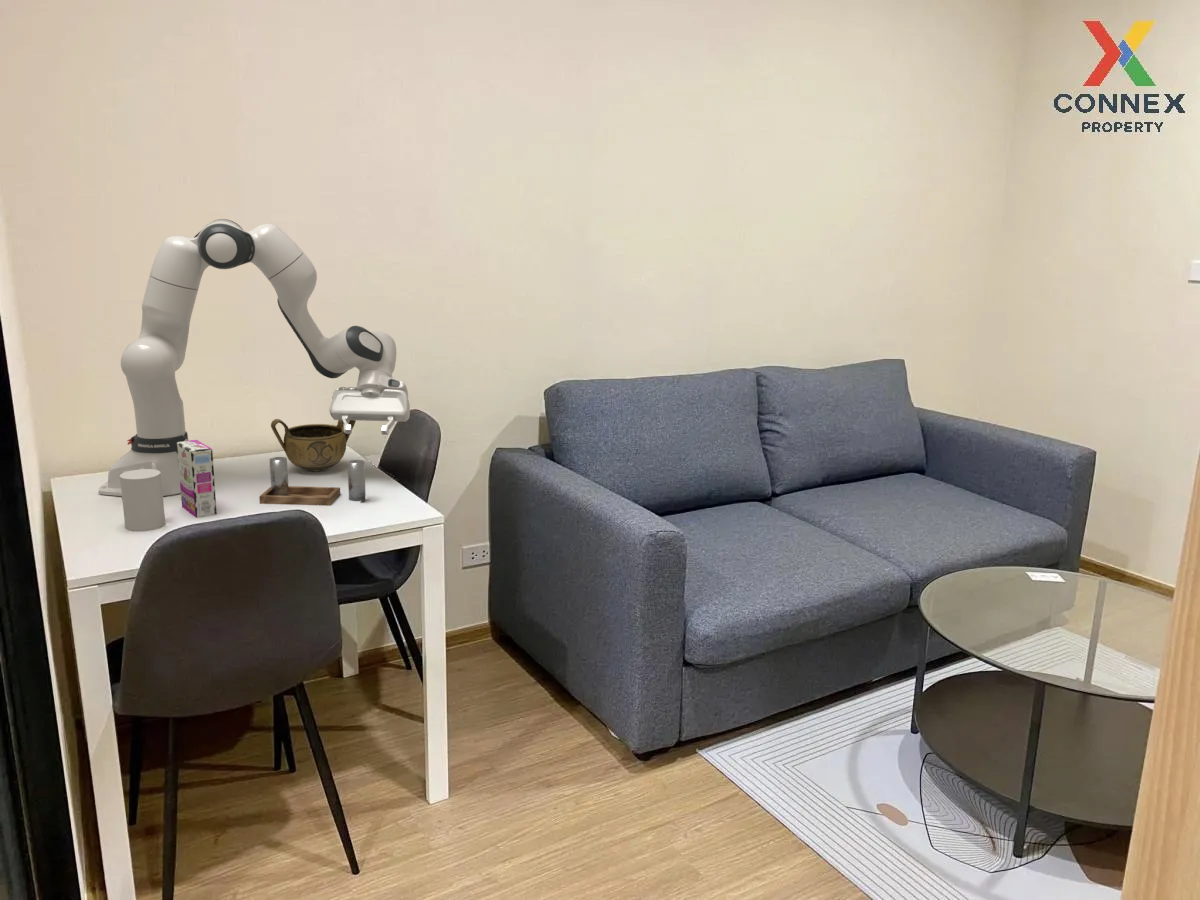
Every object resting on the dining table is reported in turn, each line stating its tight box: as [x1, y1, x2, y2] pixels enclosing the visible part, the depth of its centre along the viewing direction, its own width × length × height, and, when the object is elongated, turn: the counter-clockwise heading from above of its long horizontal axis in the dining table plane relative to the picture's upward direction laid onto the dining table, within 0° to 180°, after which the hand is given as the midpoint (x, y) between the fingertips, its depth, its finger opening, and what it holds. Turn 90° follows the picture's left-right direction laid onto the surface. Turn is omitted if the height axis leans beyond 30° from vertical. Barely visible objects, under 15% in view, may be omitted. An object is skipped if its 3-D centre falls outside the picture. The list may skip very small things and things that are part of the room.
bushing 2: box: [347, 459, 367, 504], centre depth 230 cm, size 4×4×10 cm
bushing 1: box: [269, 456, 289, 496], centre depth 228 cm, size 4×4×10 cm
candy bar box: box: [177, 439, 218, 519], centre depth 217 cm, size 11×5×16 cm, turn 40°
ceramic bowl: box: [270, 418, 357, 472], centre depth 256 cm, size 22×17×15 cm
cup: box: [120, 469, 166, 532], centre depth 208 cm, size 8×8×12 cm
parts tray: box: [258, 485, 341, 507], centre depth 229 cm, size 17×9×2 cm, turn 90°
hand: (366, 433), depth 238 cm, fingers open, 8 cm apart
